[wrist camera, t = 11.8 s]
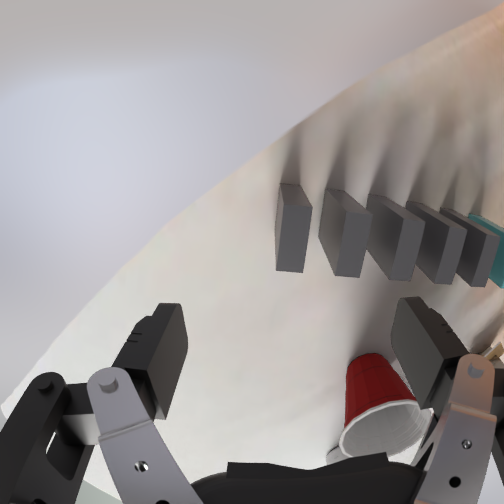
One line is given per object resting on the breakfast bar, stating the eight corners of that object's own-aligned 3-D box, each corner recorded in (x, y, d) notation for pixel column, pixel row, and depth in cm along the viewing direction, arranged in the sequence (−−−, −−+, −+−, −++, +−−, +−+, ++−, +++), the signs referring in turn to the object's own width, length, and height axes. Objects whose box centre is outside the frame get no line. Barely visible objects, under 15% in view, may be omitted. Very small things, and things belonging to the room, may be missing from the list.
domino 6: (480, 215, 29) (527, 242, 20) (470, 255, 30) (512, 288, 22) (469, 213, 29) (516, 240, 20) (459, 253, 30) (500, 288, 22)
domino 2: (344, 191, 29) (372, 214, 21) (337, 238, 31) (359, 277, 23) (325, 188, 29) (346, 211, 21) (318, 236, 31) (334, 275, 23)
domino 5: (453, 210, 29) (500, 236, 20) (443, 251, 31) (484, 287, 22) (440, 207, 29) (486, 234, 20) (430, 249, 31) (470, 286, 22)
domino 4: (422, 203, 29) (467, 229, 20) (412, 247, 31) (451, 284, 22) (406, 200, 29) (449, 226, 20) (397, 245, 31) (433, 283, 22)
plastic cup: (387, 321, 34) (422, 390, 23) (411, 369, 37) (439, 432, 26) (312, 362, 37) (322, 438, 26) (346, 403, 40) (359, 469, 29)
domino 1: (300, 185, 29) (312, 207, 21) (294, 234, 31) (302, 272, 23) (279, 183, 29) (283, 204, 21) (274, 232, 31) (275, 270, 23)
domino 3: (386, 196, 29) (425, 221, 21) (377, 242, 31) (410, 281, 22) (368, 194, 29) (403, 218, 21) (360, 240, 31) (389, 279, 22)
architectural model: (456, 358, 37) (476, 390, 30) (489, 328, 35) (513, 357, 28) (462, 367, 38) (481, 398, 31) (494, 339, 36) (516, 367, 29)
